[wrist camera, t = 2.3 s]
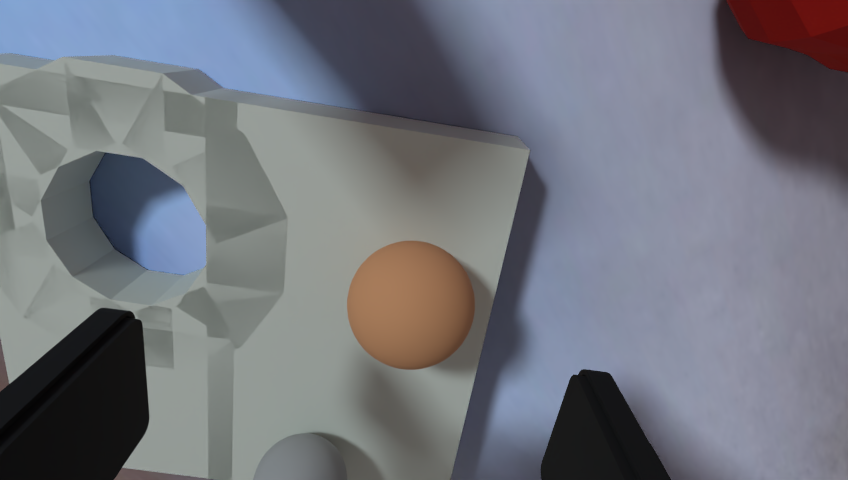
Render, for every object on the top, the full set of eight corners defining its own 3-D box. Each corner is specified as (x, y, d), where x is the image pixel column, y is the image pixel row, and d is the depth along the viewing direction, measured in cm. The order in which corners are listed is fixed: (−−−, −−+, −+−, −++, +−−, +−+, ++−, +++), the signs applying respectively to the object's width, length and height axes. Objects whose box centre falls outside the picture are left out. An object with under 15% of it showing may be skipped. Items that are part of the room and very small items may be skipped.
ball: (480, 232, 17) (494, 286, 13) (458, 331, 18) (465, 406, 14) (363, 214, 16) (343, 263, 13) (351, 316, 18) (330, 387, 14)
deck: (520, 122, 18) (533, 134, 15) (442, 462, 24) (443, 508, 21) (-6, 35, 17) (-77, 34, 14) (53, 411, 23) (11, 453, 21)
